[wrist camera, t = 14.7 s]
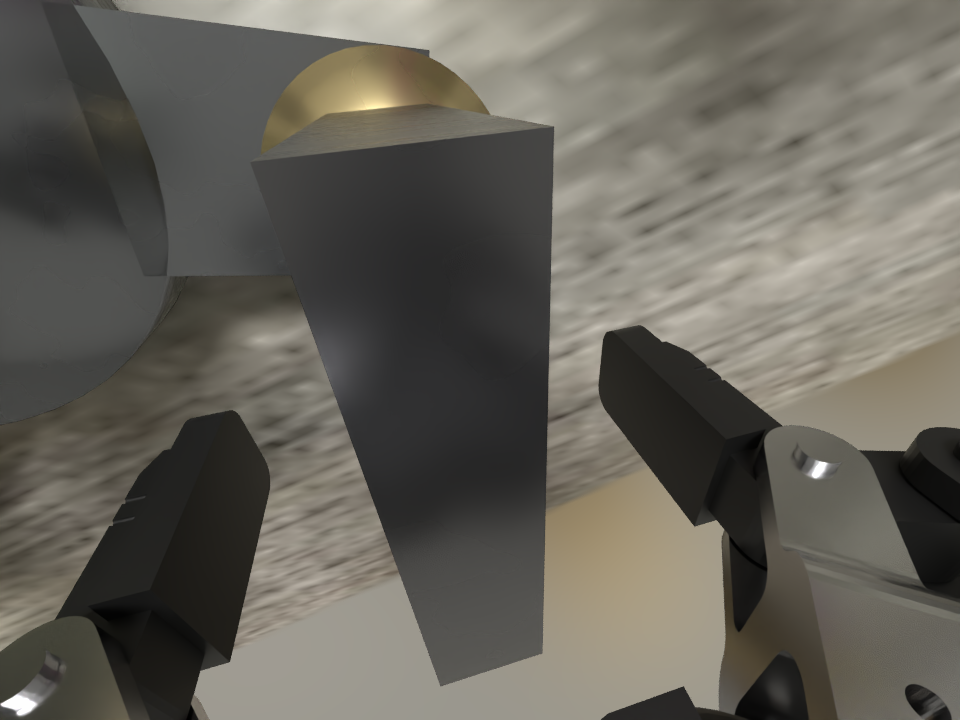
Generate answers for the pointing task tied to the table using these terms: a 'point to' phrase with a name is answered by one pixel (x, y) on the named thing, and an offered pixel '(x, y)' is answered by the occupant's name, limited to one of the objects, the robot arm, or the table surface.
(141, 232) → the tribrach
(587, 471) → the table surface
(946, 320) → the table surface
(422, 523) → the knob
